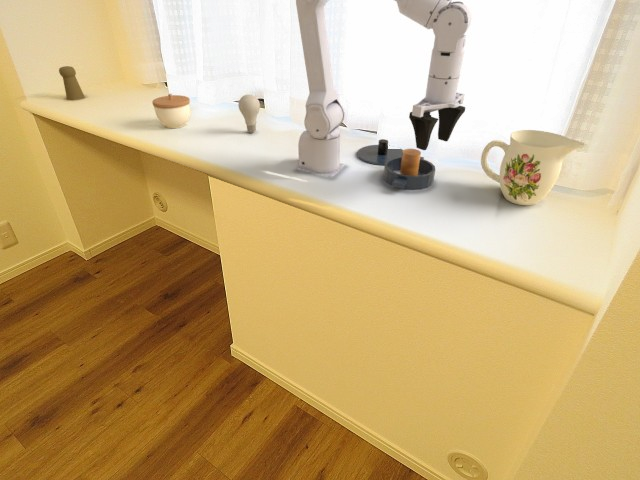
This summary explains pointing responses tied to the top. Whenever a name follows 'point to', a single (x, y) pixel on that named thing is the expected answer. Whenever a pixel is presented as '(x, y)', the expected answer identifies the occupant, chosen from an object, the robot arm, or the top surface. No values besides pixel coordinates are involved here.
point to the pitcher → (529, 164)
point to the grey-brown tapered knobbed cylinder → (71, 83)
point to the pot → (406, 180)
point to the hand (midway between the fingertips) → (432, 144)
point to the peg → (410, 162)
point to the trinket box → (172, 110)
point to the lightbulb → (249, 111)
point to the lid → (378, 153)
